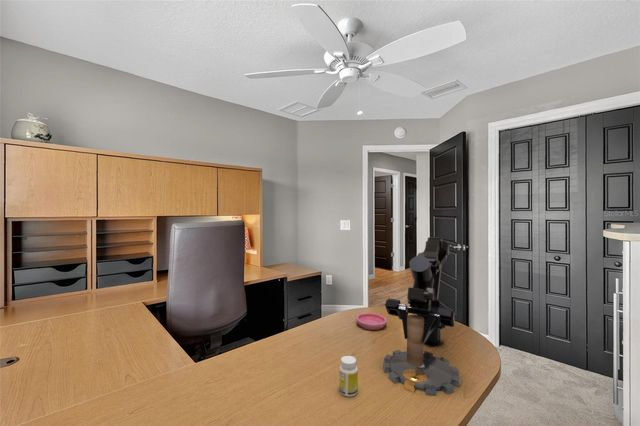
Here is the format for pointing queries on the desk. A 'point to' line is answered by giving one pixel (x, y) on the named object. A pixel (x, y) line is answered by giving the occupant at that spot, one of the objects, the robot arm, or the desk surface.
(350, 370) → the supplement bottle
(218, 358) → the desk surface
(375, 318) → the saucer
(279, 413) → the desk surface
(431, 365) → the sprocket plate
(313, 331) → the desk surface
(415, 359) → the pin
